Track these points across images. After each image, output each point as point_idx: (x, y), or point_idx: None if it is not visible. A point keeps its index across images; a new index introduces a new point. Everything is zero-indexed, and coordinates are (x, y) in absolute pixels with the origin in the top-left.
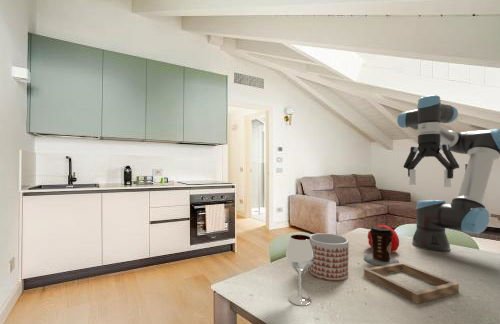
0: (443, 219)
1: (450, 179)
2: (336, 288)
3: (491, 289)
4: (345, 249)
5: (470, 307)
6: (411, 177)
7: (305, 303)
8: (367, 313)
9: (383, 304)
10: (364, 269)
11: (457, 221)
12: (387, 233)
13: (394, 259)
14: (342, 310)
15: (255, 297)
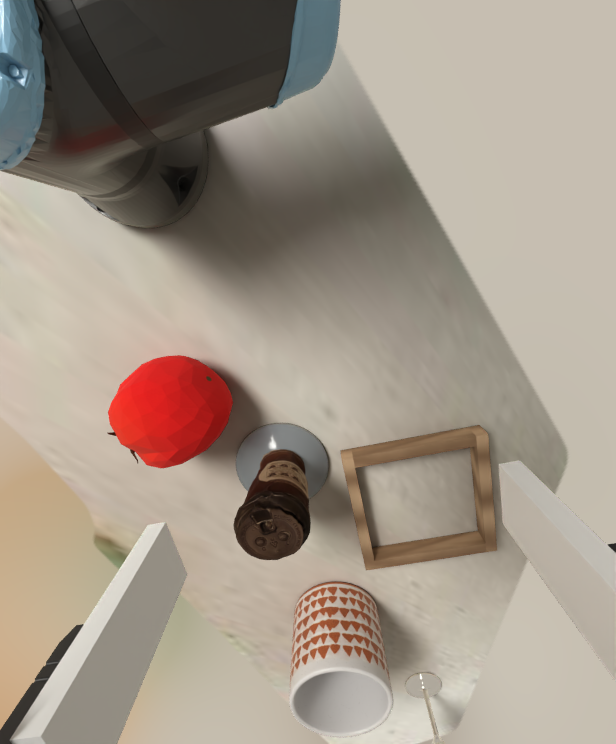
0: (178, 135)
1: (578, 522)
2: (402, 625)
3: (492, 332)
4: (385, 669)
5: (529, 458)
6: (151, 651)
7: (438, 683)
8: (486, 621)
9: (472, 587)
10: (367, 569)
11: (253, 110)
12: (307, 530)
13: (286, 431)
14: (467, 647)
15: (401, 728)
